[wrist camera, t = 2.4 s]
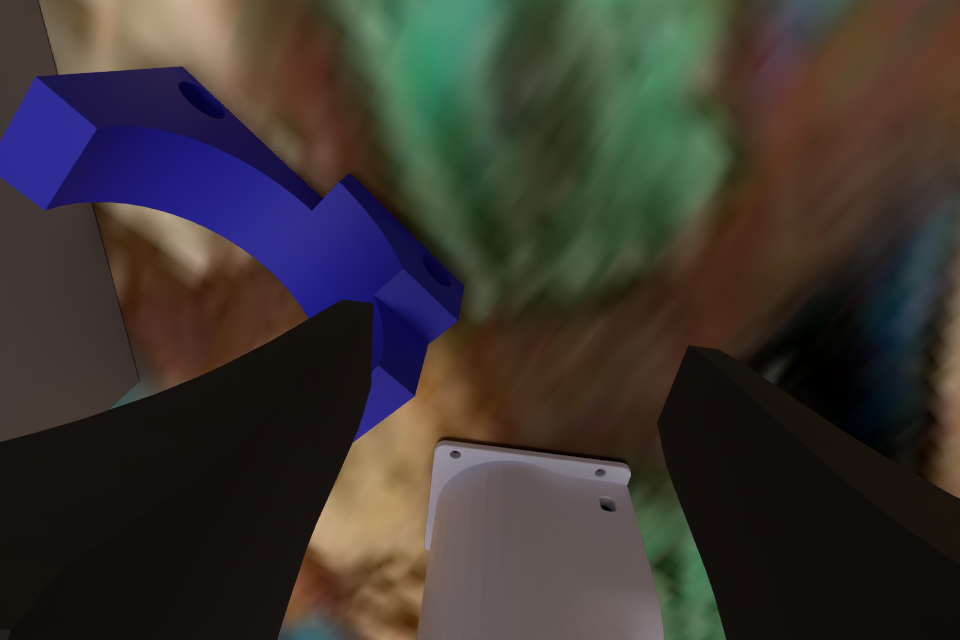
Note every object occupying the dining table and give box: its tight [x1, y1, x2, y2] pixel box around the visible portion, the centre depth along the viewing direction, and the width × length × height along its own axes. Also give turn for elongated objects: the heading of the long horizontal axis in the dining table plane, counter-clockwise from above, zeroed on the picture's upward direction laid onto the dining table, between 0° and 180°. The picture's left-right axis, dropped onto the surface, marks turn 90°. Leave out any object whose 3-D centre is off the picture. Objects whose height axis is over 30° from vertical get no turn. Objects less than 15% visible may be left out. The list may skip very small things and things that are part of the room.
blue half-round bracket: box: [0, 67, 464, 442], centre depth 16 cm, size 12×4×6 cm, turn 42°
